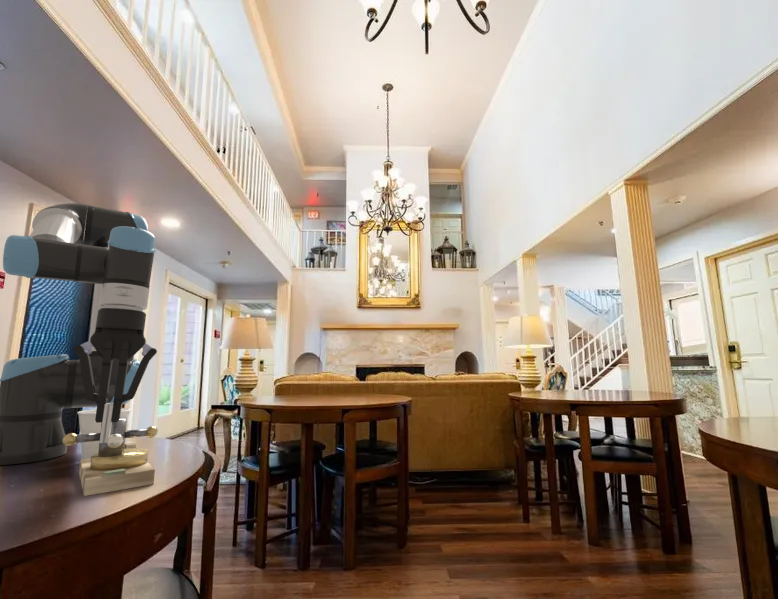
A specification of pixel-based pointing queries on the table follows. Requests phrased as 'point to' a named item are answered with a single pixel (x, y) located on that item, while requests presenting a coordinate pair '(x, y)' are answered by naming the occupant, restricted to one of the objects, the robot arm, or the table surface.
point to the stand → (114, 476)
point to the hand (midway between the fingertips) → (104, 441)
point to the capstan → (115, 446)
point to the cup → (93, 430)
